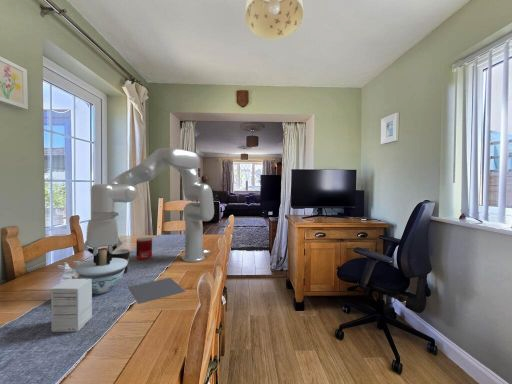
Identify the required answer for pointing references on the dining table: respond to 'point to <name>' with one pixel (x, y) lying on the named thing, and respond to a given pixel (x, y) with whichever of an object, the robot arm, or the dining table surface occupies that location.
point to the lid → (101, 264)
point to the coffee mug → (122, 256)
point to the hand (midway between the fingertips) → (102, 263)
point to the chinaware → (104, 281)
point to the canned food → (144, 248)
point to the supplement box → (71, 305)
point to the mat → (155, 290)
